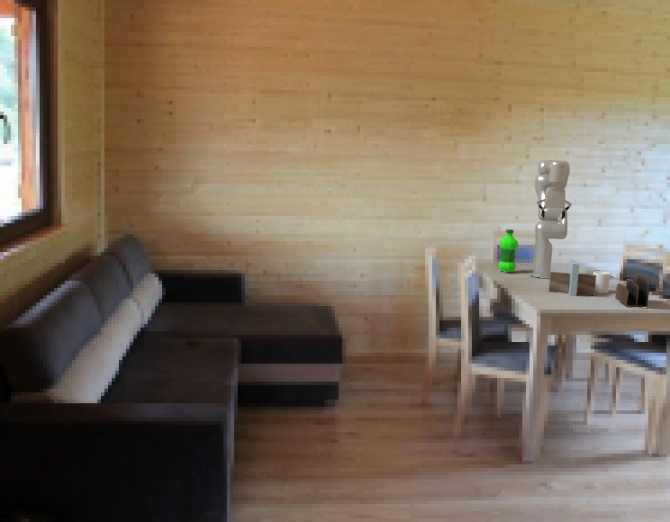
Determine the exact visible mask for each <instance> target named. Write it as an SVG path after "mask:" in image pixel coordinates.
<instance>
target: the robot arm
mask: <svg viewBox="0 0 670 522" xmlns="http://www.w3.org/2000/svg"><path fill="white" fill-rule="evenodd" d="M570 170H571V167H570V162H568V161H565V160H555V159H554V160H553V159H550V160H549V159H548V160H547V159H546V160H545V159H543V160H542V159H541V160H540V161H539V163H538V165H537V172H538V175H536V176H535V179H534V189H535V193H536V196H537V200H538V201H537V202H536V203H537V216H538V219H539V220H540V221H538V222H537V223H535V226H534V233H535V236H534V237H535V240H534V242H535V243H534V244H535V245H534V254H533V256H534V257H533V268H532V272H530V273H529V277H532V276H533V278H536V277H540V278H539V279H550V272H551V267H552V265H551V264H552V256H553V245H552V243H551V242H550V240H549V239H551V240H552V239H553V240H564V239H566V238H567V236H568V210H569V209H570V208H571V207H572V205H573V204H572V202H570V201H568V200H566V187H567V185H568V180H569V175H570V172H571V171H570ZM566 204H567V206H566Z"/></svg>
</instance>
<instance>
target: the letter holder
mask: <svg viewBox="0 0 670 522" xmlns="http://www.w3.org/2000/svg"><path fill="white" fill-rule="evenodd" d="M650 284H651V283H650V280H649V279H648V278H647V277H646V276H645V275H643V274H640V273H637V274H636V278H635V280H632V279H630V278H628V279H626V285H624V284H623V283H619V282H618V283H617V284H616V289H615V299H616V300H617V301H618V300H619V301H620V302H619V301H618V302H619V303H620V304H621V305H623V306H624V307H625V306H626V307H625V308H632V307H647V308H646V309H648V307H649V299H650V298H649V296H650Z"/></svg>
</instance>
